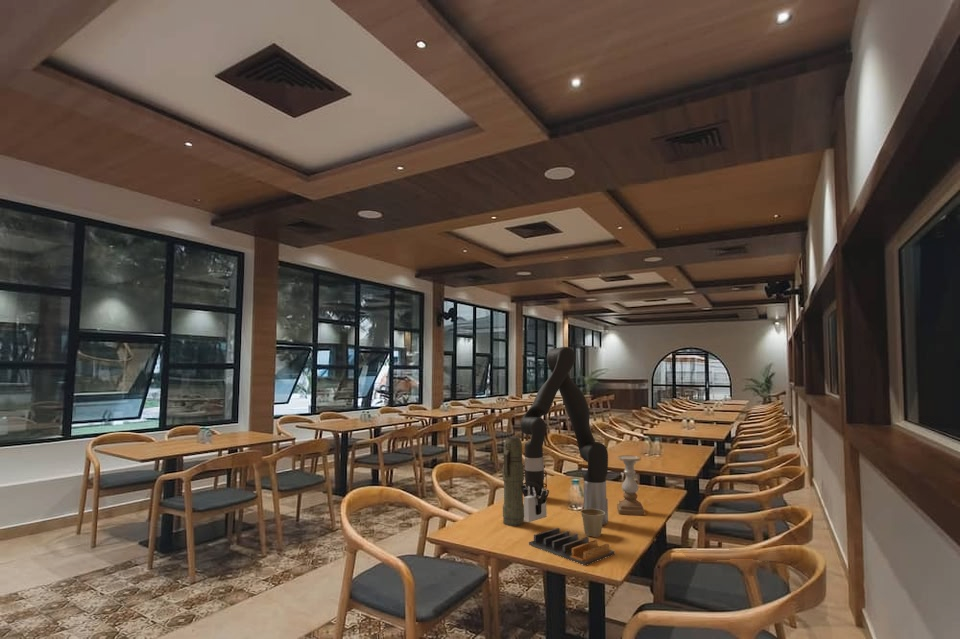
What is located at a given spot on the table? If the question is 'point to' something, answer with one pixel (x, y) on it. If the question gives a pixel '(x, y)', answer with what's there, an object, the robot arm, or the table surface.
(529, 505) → the panel
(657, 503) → the table surface
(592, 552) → the rack
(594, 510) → the flower pot
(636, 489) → the candle holder
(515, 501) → the thermos
